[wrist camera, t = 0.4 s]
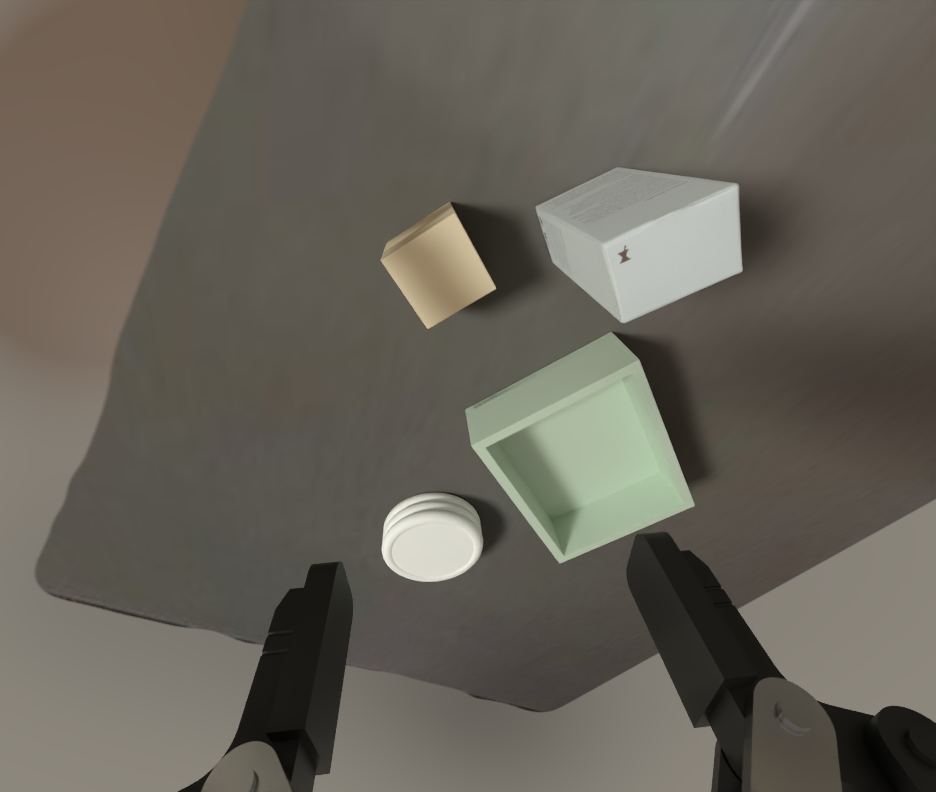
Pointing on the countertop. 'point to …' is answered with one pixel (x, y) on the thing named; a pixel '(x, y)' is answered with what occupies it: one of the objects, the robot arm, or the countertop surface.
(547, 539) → the tote
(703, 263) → the skincare box
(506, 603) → the countertop surface
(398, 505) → the white round ribbed disc
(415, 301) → the maple cube
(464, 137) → the countertop surface
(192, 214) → the countertop surface
